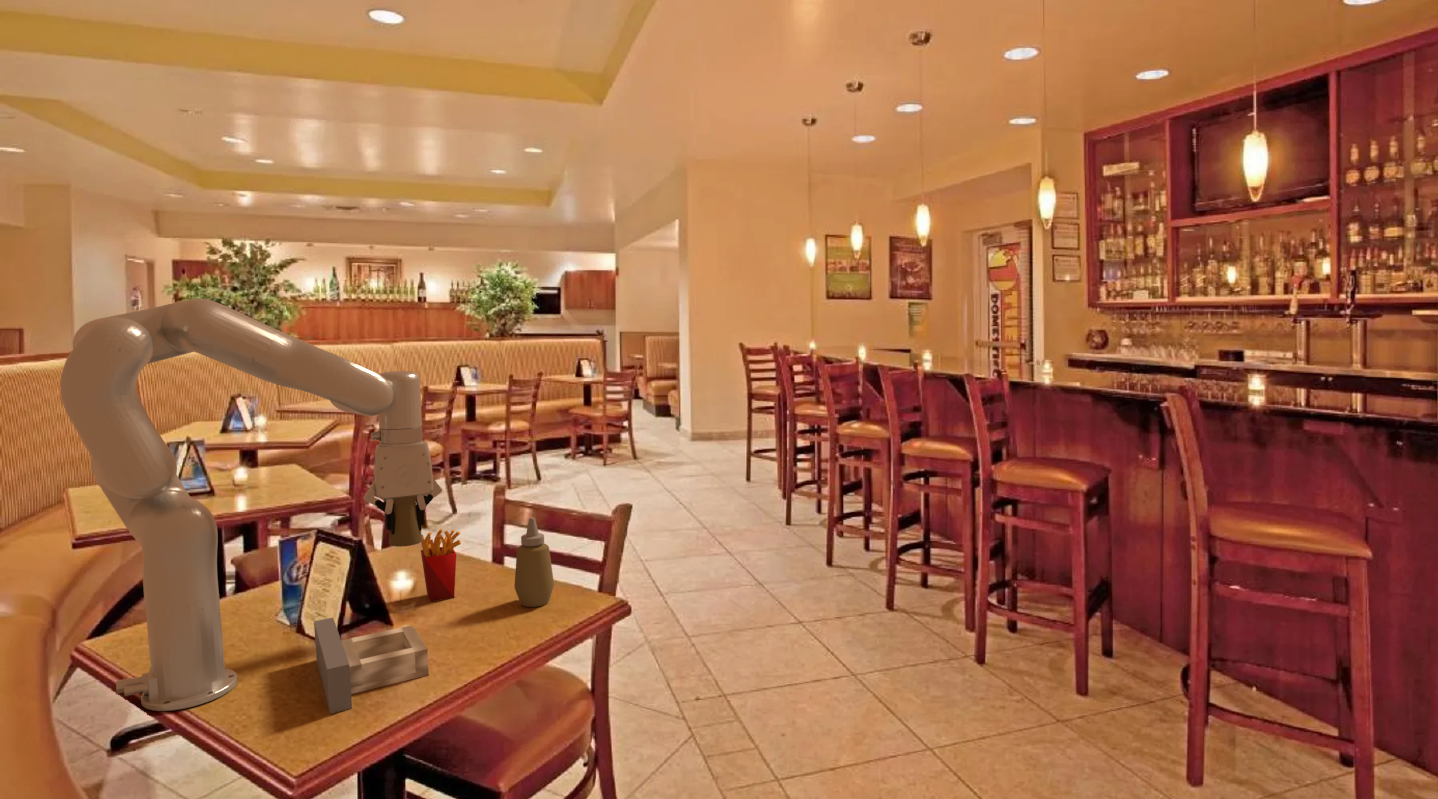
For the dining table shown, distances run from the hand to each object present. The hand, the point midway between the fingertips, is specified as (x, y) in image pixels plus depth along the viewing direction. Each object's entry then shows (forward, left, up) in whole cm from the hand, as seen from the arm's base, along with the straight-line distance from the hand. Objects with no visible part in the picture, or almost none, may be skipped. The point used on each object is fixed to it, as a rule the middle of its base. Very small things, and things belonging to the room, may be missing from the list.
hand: (405, 530), depth 145 cm
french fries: (+9, +12, -19) cm, 24 cm away
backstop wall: (-15, -18, -19) cm, 30 cm away
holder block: (-8, -18, -19) cm, 27 cm away
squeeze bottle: (+24, -2, -19) cm, 31 cm away
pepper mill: (0, 0, -3) cm, 3 cm away
